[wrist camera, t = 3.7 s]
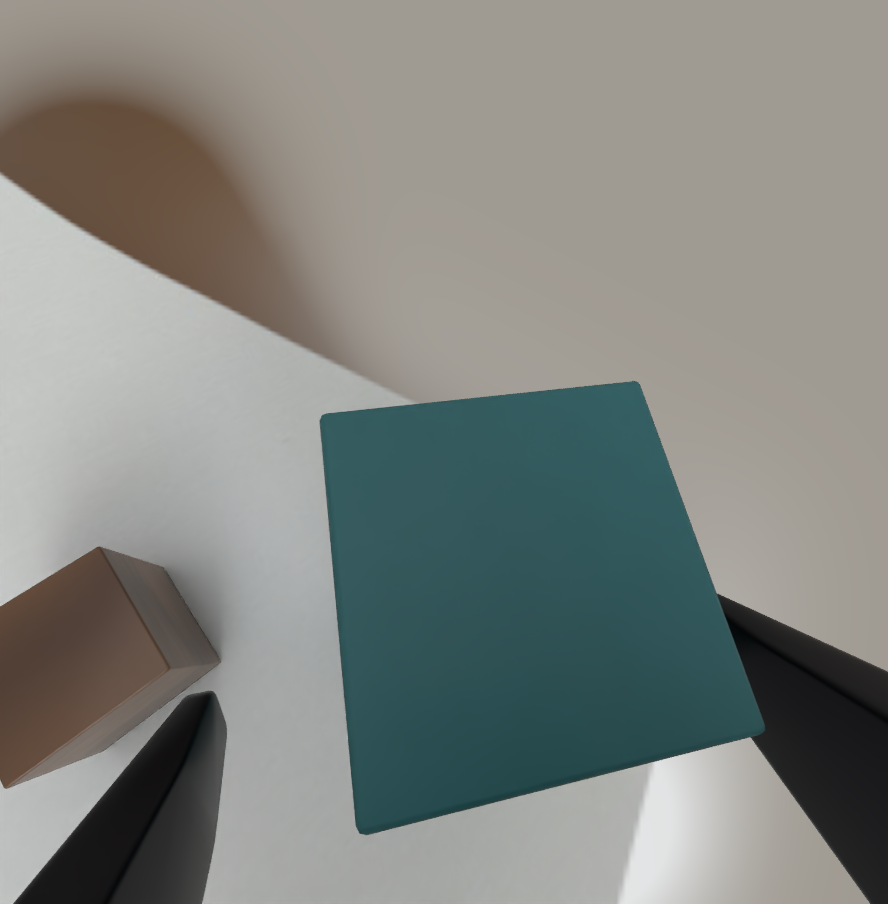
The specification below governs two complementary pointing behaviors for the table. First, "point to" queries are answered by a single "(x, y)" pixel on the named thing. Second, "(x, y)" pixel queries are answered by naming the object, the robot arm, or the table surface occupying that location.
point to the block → (91, 660)
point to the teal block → (518, 601)
